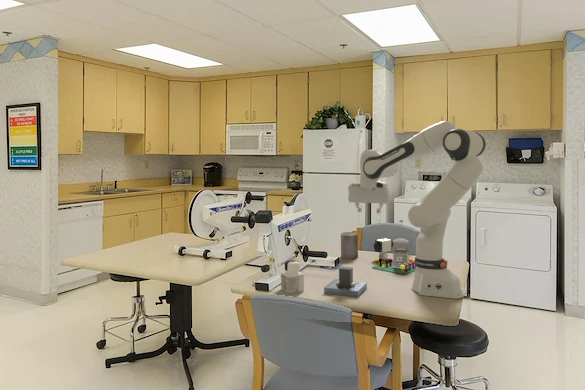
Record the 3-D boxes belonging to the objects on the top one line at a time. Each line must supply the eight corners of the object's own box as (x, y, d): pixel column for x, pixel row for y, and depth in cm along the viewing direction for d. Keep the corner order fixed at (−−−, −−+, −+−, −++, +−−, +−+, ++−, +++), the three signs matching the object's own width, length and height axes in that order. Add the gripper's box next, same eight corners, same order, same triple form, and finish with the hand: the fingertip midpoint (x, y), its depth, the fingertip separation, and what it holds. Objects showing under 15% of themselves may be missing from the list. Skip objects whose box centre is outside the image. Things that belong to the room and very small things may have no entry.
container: (281, 289, 205) (280, 260, 203) (297, 286, 208) (296, 258, 206) (287, 293, 198) (287, 264, 196) (304, 291, 201) (303, 262, 199)
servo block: (338, 288, 205) (338, 266, 204) (356, 290, 201) (356, 267, 201) (334, 292, 199) (334, 269, 198) (352, 294, 196) (352, 271, 195)
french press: (387, 265, 244) (388, 218, 242) (407, 264, 247) (408, 217, 245) (396, 270, 235) (397, 221, 232) (417, 268, 237) (417, 220, 235)
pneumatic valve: (393, 258, 261) (393, 237, 260) (379, 261, 254) (379, 239, 253) (385, 256, 265) (386, 235, 264) (371, 259, 258) (372, 238, 257)
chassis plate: (334, 284, 211) (334, 279, 210) (366, 288, 205) (366, 282, 204) (324, 293, 198) (324, 287, 198) (358, 297, 192) (358, 291, 192)
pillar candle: (350, 254, 271) (350, 229, 270) (361, 257, 263) (361, 231, 262) (337, 256, 266) (337, 231, 265) (348, 260, 258) (347, 233, 257)
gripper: (346, 183, 223) (346, 212, 224) (388, 184, 214) (388, 214, 216) (350, 182, 228) (350, 210, 230) (391, 183, 220) (391, 212, 221)
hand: (369, 212), depth 223 cm, fingers open, 8 cm apart
